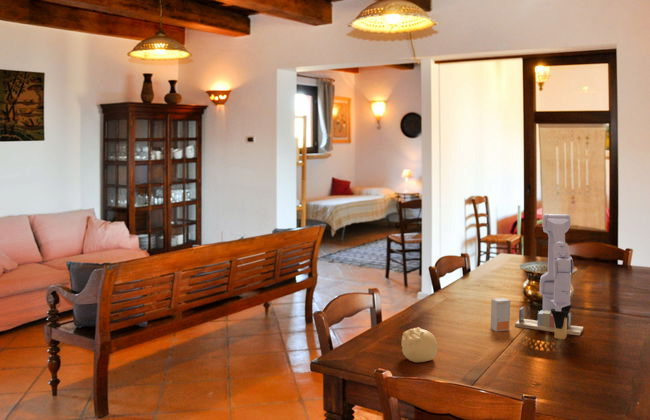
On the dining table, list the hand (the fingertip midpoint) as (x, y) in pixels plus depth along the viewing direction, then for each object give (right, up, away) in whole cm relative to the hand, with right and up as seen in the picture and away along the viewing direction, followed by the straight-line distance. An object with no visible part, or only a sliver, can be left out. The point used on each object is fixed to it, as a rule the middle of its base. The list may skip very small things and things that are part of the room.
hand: (560, 325), depth 235 cm
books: (+1, -2, +10) cm, 11 cm away
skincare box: (-20, -4, +10) cm, 23 cm away
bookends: (-2, -2, +12) cm, 12 cm away
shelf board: (-1, -3, +11) cm, 12 cm away
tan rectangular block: (0, -4, +1) cm, 4 cm away
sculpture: (-56, -8, -22) cm, 61 cm away
